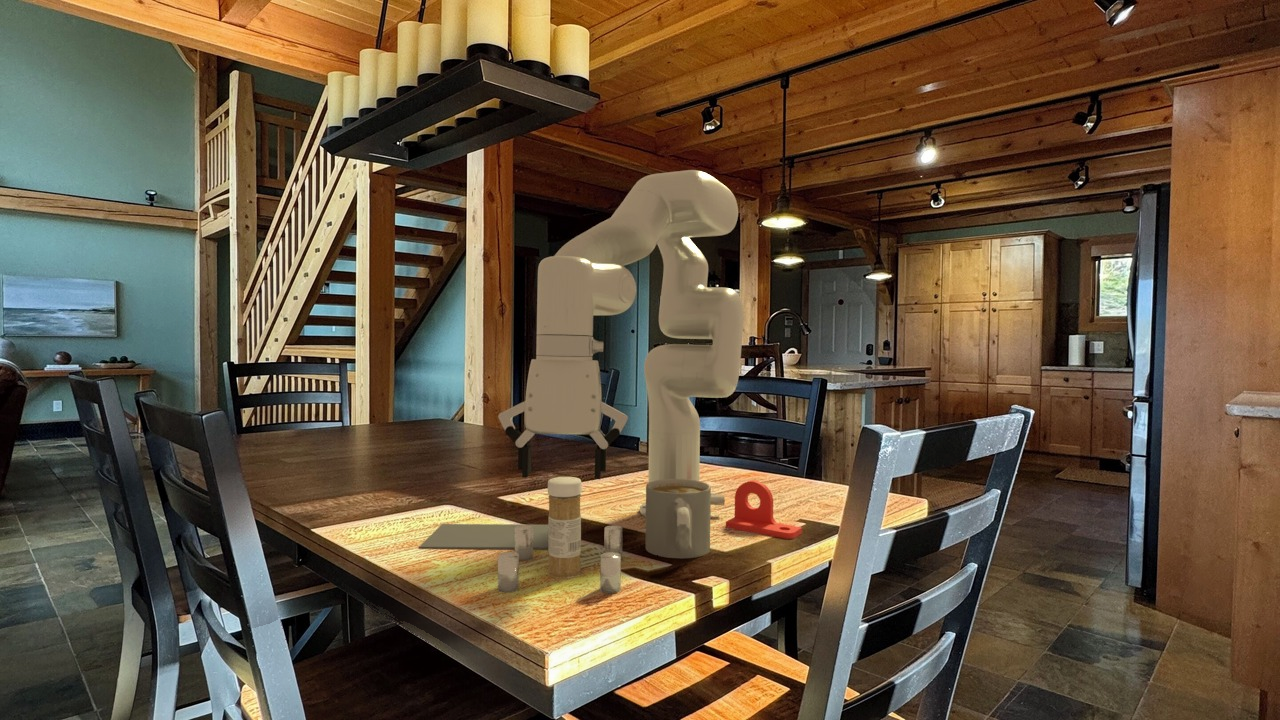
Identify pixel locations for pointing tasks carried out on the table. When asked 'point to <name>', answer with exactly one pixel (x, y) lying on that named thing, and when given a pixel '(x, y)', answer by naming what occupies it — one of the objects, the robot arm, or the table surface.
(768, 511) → the bracket
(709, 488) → the coffee mug
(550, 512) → the sprinkles bottle
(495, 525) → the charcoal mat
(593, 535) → the table surface
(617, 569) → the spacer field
